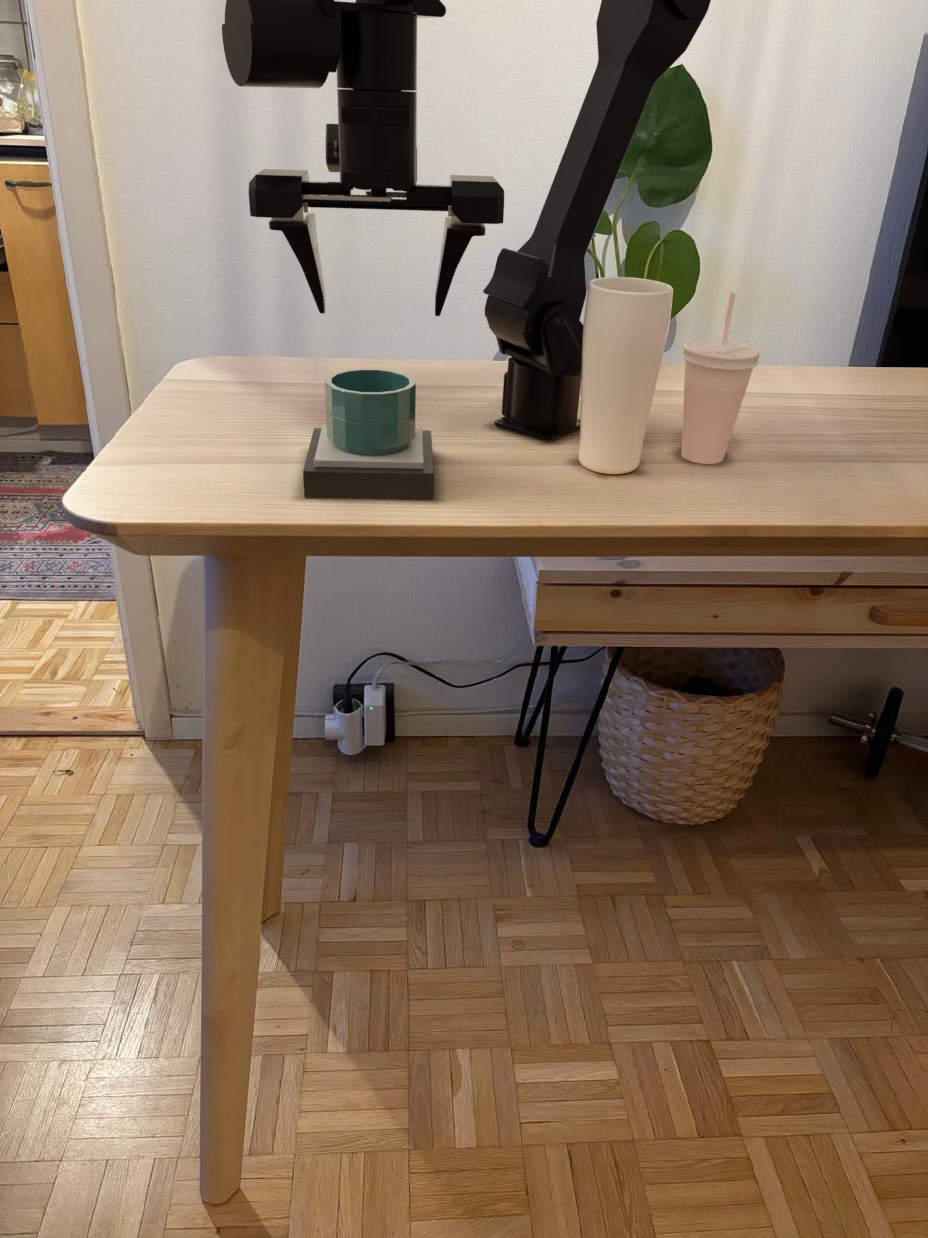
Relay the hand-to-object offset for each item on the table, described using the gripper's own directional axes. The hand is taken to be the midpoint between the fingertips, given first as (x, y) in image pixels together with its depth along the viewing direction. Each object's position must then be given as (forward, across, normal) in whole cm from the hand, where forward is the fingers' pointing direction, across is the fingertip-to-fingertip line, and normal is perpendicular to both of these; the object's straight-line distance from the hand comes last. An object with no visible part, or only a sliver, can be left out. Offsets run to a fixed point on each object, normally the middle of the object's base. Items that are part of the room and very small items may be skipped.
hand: (380, 313), depth 74 cm
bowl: (+9, +1, +5) cm, 10 cm away
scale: (+12, +1, +5) cm, 13 cm away
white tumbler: (+12, -20, +2) cm, 23 cm away
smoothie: (+12, -29, -1) cm, 31 cm away
